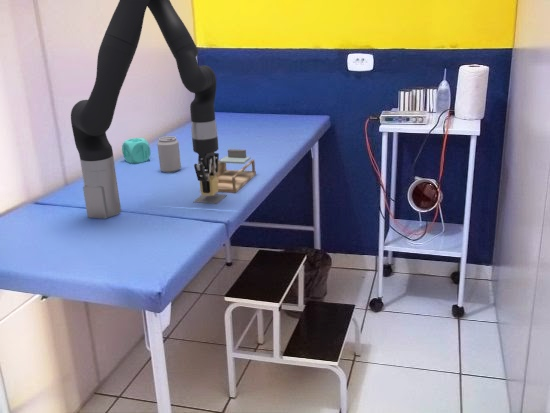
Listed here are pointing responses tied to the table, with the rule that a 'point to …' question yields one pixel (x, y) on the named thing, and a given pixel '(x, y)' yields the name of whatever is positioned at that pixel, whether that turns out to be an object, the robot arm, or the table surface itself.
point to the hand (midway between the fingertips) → (209, 190)
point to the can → (169, 154)
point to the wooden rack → (233, 177)
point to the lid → (235, 157)
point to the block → (211, 185)
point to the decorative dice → (136, 150)
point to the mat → (210, 199)
